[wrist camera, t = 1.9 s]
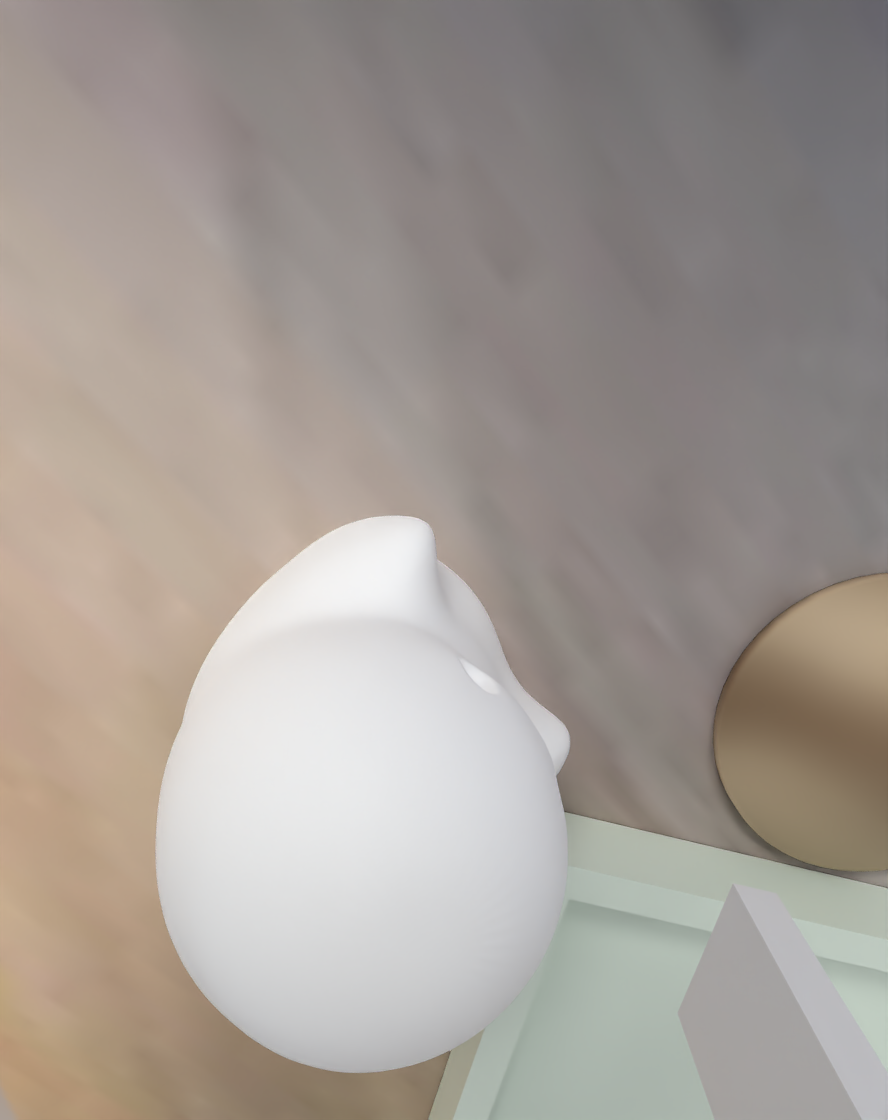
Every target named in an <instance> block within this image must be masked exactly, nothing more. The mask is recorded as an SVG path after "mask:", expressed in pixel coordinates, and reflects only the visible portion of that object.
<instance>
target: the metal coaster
mask: <svg viewBox="0 0 888 1120" xmlns="http://www.w3.org/2000/svg"><path fill="white" fill-rule="evenodd" d="M713 745H714V753H715V761H716V765H717V769H718V772H719V776H720V779H721V781H722V783H723V785H724V788H725V790H726V792H727V794H728V796H729V797H730V799H731V801H732V802H733V804H734V805H735V807H736V808H737V810H738V812H739V813H740V815H741V816H742V818H743V819H744V820H745V821H746V822H747V824H748V825H749V826H750V827H751V828H752V829H753V830H754V831H755V832H756V833H757V834H758V835H759V836H760V837H762V838H763V839H764V840H765V841H766V842H768V843H769V844H770V845H772V846H773V847H775V848H777V849H778V850H780V851H782V852H783V853H785V854H787V855H789V856H791V857H794V858H796V859H798V860H800V861H803V862H806V863H809V864H813V865H816V866H819V867H824V868H830V869H836V870H844V871H880V870H887V869H888V573H880V574H874V575H868V576H863V577H857V578H853V579H850V580H847V581H844V582H840V583H837V584H834V585H832V586H829V587H827V588H825V589H822V590H820V591H818V592H816V593H813V594H811V595H810V596H808V597H806V598H804V599H803V600H801V601H799V602H798V603H796V604H794V605H792V606H791V607H790V608H788V609H787V610H786V611H784V612H783V613H782V614H780V615H779V616H778V617H776V618H775V619H774V620H772V621H771V622H770V623H769V624H768V625H767V626H766V627H765V628H764V629H763V630H762V631H761V632H760V633H759V634H758V635H757V636H756V637H755V638H754V639H753V641H752V642H751V643H750V644H749V645H748V647H747V648H746V649H745V650H744V651H743V653H742V654H741V656H740V658H739V659H738V661H737V662H736V664H735V665H734V667H733V668H732V670H731V672H730V674H729V676H728V679H727V681H726V683H725V685H724V687H723V690H722V693H721V696H720V699H719V702H718V705H717V710H716V715H715V721H714V736H713Z"/></svg>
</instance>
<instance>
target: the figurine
mask: <svg viewBox="0 0 888 1120" xmlns="http://www.w3.org/2000/svg"><path fill="white" fill-rule="evenodd" d="M569 750H570V734H569V732H568V730H567V728H566V727H565V725H564V724H563V723H562V722H561V721H560V720H559V719H558V718H557V717H556V716H555V715H553V714H552V713H551V712H549V711H548V710H547V709H546V708H545V707H543V706H542V705H540V704H539V703H538V702H537V701H536V700H535V699H533V698H532V697H531V696H530V695H529V694H528V693H527V692H526V691H525V690H524V688H523V687H522V686H521V685H520V683H519V682H518V681H517V679H516V678H515V676H514V674H513V673H512V671H511V669H510V667H509V665H508V663H507V660H506V658H505V656H504V653H503V651H502V648H501V645H500V642H499V639H498V636H497V634H496V631H495V629H494V626H493V624H492V622H491V620H490V618H489V616H488V614H487V612H486V610H485V608H484V607H483V605H482V603H481V602H480V600H479V599H478V598H477V596H476V595H475V594H474V592H473V591H472V590H471V588H470V587H469V586H468V585H467V584H466V583H465V582H464V581H463V580H462V579H461V578H460V577H459V576H458V575H457V574H456V573H455V572H453V571H452V570H451V569H450V568H448V567H447V566H446V565H444V564H443V563H442V562H440V561H439V560H437V553H436V541H435V536H434V534H433V531H432V529H431V527H430V526H429V525H428V523H426V522H424V521H423V520H421V519H418V518H414V517H410V516H381V517H372V518H367V519H362V520H359V521H355V522H352V523H350V524H347V525H344V526H342V527H340V528H337V529H335V530H333V531H331V532H330V533H328V534H326V535H324V536H323V537H321V538H320V539H318V540H317V541H315V542H314V543H312V544H311V545H309V546H308V547H307V548H305V549H304V550H303V551H302V552H300V553H299V554H298V555H297V556H295V557H294V558H293V559H292V560H291V561H289V562H288V563H287V564H286V565H285V566H283V567H282V568H281V569H280V570H279V571H278V572H276V573H275V574H274V575H273V576H272V577H271V578H269V579H268V580H267V581H266V582H265V583H264V584H263V585H262V586H261V587H260V588H259V589H258V590H257V591H256V592H255V593H254V594H253V595H252V596H251V597H250V598H249V599H248V600H247V602H246V603H245V604H244V605H243V606H242V607H241V608H240V610H239V611H238V612H237V613H236V615H235V616H234V617H233V618H232V620H231V621H230V622H229V624H228V625H227V626H226V628H225V629H224V630H223V632H222V633H221V635H220V636H219V638H218V639H217V641H216V642H215V644H214V645H213V647H212V649H211V650H210V652H209V654H208V655H207V657H206V659H205V661H204V663H203V665H202V666H201V669H200V671H199V673H198V675H197V677H196V679H195V682H194V684H193V687H192V690H191V692H190V695H189V698H188V701H187V705H186V709H185V713H184V717H183V722H182V725H181V728H180V730H179V732H178V734H177V736H176V739H175V741H174V744H173V746H172V749H171V752H170V755H169V758H168V761H167V765H166V768H165V772H164V776H163V781H162V786H161V791H160V798H159V805H158V814H157V827H156V853H155V854H156V874H157V884H158V892H159V897H160V902H161V907H162V912H163V916H164V919H165V923H166V926H167V929H168V932H169V934H170V937H171V940H172V942H173V944H174V947H175V949H176V951H177V953H178V955H179V957H180V959H181V961H182V963H183V965H184V967H185V968H186V970H187V972H188V973H189V975H190V976H191V978H192V979H193V980H194V982H195V983H196V985H197V986H198V988H199V989H200V990H201V991H202V993H203V994H204V995H205V996H206V998H207V999H208V1000H209V1001H210V1002H211V1003H212V1004H213V1005H214V1006H215V1007H216V1008H217V1009H218V1010H219V1011H220V1012H221V1013H222V1014H223V1015H224V1016H225V1017H226V1018H227V1019H228V1020H229V1021H230V1022H232V1023H233V1024H234V1025H235V1026H236V1027H238V1028H239V1029H240V1030H241V1031H242V1032H244V1033H245V1034H246V1035H248V1036H249V1037H250V1038H252V1039H253V1040H255V1041H256V1042H258V1043H259V1044H261V1045H263V1046H264V1047H266V1048H267V1049H269V1050H271V1051H273V1052H275V1053H277V1054H279V1055H281V1056H283V1057H285V1058H287V1059H290V1060H292V1061H295V1062H298V1063H301V1064H304V1065H308V1066H311V1067H315V1068H319V1069H324V1070H329V1071H336V1072H346V1073H370V1072H381V1071H388V1070H394V1069H398V1068H403V1067H407V1066H411V1065H415V1064H418V1063H421V1062H424V1061H427V1060H430V1059H432V1058H435V1057H437V1056H439V1055H441V1054H444V1053H446V1052H448V1051H450V1050H452V1049H454V1048H455V1047H457V1046H459V1045H461V1044H462V1043H464V1042H465V1041H467V1040H469V1039H470V1038H472V1037H473V1036H475V1035H476V1034H477V1033H479V1032H480V1031H481V1030H483V1029H484V1028H485V1027H486V1026H488V1025H489V1024H490V1023H491V1022H492V1021H494V1020H495V1019H496V1018H497V1017H498V1016H499V1015H500V1014H501V1013H502V1012H503V1011H504V1010H505V1009H506V1008H507V1007H508V1006H509V1005H510V1004H511V1003H512V1002H513V1000H514V999H515V998H516V997H517V996H518V994H519V993H520V992H521V991H522V989H523V988H524V987H525V985H526V984H527V983H528V981H529V980H530V978H531V977H532V976H533V974H534V972H535V971H536V969H537V968H538V966H539V964H540V962H541V961H542V959H543V957H544V955H545V953H546V951H547V949H548V947H549V945H550V942H551V940H552V937H553V935H554V932H555V929H556V926H557V923H558V920H559V916H560V912H561V908H562V904H563V899H564V894H565V888H566V880H567V867H568V840H567V827H566V819H565V813H564V809H563V805H562V800H561V796H560V792H559V787H558V783H557V778H556V776H557V775H558V773H559V772H560V770H561V768H562V766H563V764H564V762H565V760H566V758H567V756H568V754H569Z"/></svg>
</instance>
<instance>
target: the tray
mask: <svg viewBox="0 0 888 1120" xmlns="http://www.w3.org/2000/svg"><path fill="white" fill-rule="evenodd" d="M564 813H565V819H566V827H567V840H568V867H567V880H566V888H565V894H564V899H563V904H562V908H561V912H560V916H559V920H558V923H557V926H556V929H555V932H554V935H553V937H552V940H551V942H550V945H549V947H548V949H547V951H546V953H545V955H544V957H543V959H542V961H541V962H540V964H539V966H538V968H537V969H536V971H535V972H534V974H533V976H532V977H531V978H530V980H529V981H528V983H527V984H526V985H525V987H524V988H523V989H522V991H521V992H520V993H519V994H518V996H517V997H516V998H515V999H514V1000H513V1002H512V1003H511V1004H510V1005H509V1006H508V1007H507V1008H506V1009H505V1010H504V1011H503V1012H502V1013H501V1014H500V1015H499V1016H498V1017H497V1018H496V1019H495V1020H494V1021H492V1022H491V1023H490V1024H489V1025H488V1026H486V1027H485V1028H484V1029H483V1030H481V1031H480V1032H479V1033H477V1034H476V1035H475V1036H473V1037H472V1038H470V1039H469V1040H467V1041H465V1042H464V1043H462V1044H461V1045H459V1046H457V1047H455V1048H454V1049H452V1050H451V1053H450V1056H449V1059H448V1062H447V1065H446V1068H445V1071H444V1074H443V1077H442V1080H441V1083H440V1086H439V1088H438V1091H437V1094H436V1097H435V1100H434V1103H433V1106H432V1109H431V1112H430V1115H429V1118H428V1120H714V1117H713V1114H712V1111H711V1108H710V1105H709V1102H708V1099H707V1097H706V1094H705V1091H704V1088H703V1085H702V1082H701V1079H700V1076H699V1074H698V1071H697V1068H696V1065H695V1062H694V1059H693V1056H692V1053H691V1051H690V1048H689V1045H688V1042H687V1039H686V1036H685V1033H684V1030H683V1028H682V1025H681V1022H680V1019H679V1016H678V1010H679V1008H680V1006H681V1003H682V1001H683V999H684V996H685V994H686V992H687V989H688V987H689V985H690V982H691V980H692V978H693V975H694V973H695V971H696V968H697V966H698V964H699V961H700V959H701V957H702V954H703V952H704V950H705V947H706V945H707V943H708V940H709V938H710V936H711V933H712V931H713V929H714V926H715V924H716V922H717V919H718V917H719V915H720V912H721V910H722V908H723V905H724V903H725V901H726V898H727V896H728V893H729V891H730V889H731V886H732V884H733V883H735V884H739V885H743V886H747V887H752V888H756V889H760V890H764V891H769V892H773V893H777V895H778V896H779V898H780V899H781V901H782V903H783V904H784V906H785V907H786V909H787V911H788V912H789V914H790V916H791V917H792V919H793V920H794V922H795V924H796V925H797V927H798V928H799V930H800V932H801V933H802V935H803V937H804V938H805V940H806V941H807V943H808V945H809V946H810V948H811V949H812V951H813V953H814V954H815V956H816V958H817V959H818V961H819V962H820V964H821V966H822V967H823V969H824V970H825V972H826V974H827V975H828V977H829V979H830V980H831V982H832V983H833V985H834V987H835V988H836V990H837V991H838V993H839V995H840V996H841V998H842V1000H843V1001H844V1003H845V1004H846V1006H847V1008H848V1009H849V1011H850V1012H851V1014H852V1016H853V1017H854V1019H855V1021H856V1022H857V1024H858V1025H859V1027H860V1029H861V1030H862V1032H863V1033H864V1035H865V1037H866V1038H867V1040H868V1042H869V1043H870V1045H871V1046H872V1048H873V1050H874V1051H875V1053H876V1054H877V1056H878V1058H879V1059H880V1061H881V1063H882V1064H883V1066H884V1067H885V1069H886V1071H887V1072H888V888H884V887H880V886H876V885H872V884H867V883H863V882H859V881H855V880H850V879H846V878H842V877H838V876H833V875H829V874H825V873H821V872H817V871H812V870H808V869H804V868H800V867H795V866H791V865H787V864H783V863H778V862H774V861H770V860H766V859H762V858H757V857H753V856H749V855H745V854H740V853H736V852H732V851H728V850H723V849H719V848H715V847H711V846H707V845H702V844H698V843H694V842H690V841H685V840H681V839H677V838H673V837H668V836H664V835H660V834H656V833H651V832H647V831H643V830H639V829H635V828H630V827H626V826H622V825H618V824H613V823H609V822H605V821H601V820H596V819H592V818H588V817H584V816H580V815H575V814H571V813H567V812H564Z"/></svg>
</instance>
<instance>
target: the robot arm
mask: <svg viewBox="0 0 888 1120" xmlns="http://www.w3.org/2000/svg"><path fill="white" fill-rule="evenodd" d="M678 1016H679V1019H680V1022H681V1025H682V1028H683V1030H684V1033H685V1036H686V1039H687V1042H688V1045H689V1048H690V1051H691V1053H692V1056H693V1059H694V1062H695V1065H696V1068H697V1071H698V1074H699V1076H700V1079H701V1082H702V1085H703V1088H704V1091H705V1094H706V1097H707V1099H708V1102H709V1105H710V1108H711V1111H712V1114H713V1117H714V1120H888V1072H887V1071H886V1069H885V1067H884V1066H883V1064H882V1063H881V1061H880V1059H879V1058H878V1056H877V1054H876V1053H875V1051H874V1050H873V1048H872V1046H871V1045H870V1043H869V1042H868V1040H867V1038H866V1037H865V1035H864V1033H863V1032H862V1030H861V1029H860V1027H859V1025H858V1024H857V1022H856V1021H855V1019H854V1017H853V1016H852V1014H851V1012H850V1011H849V1009H848V1008H847V1006H846V1004H845V1003H844V1001H843V1000H842V998H841V996H840V995H839V993H838V991H837V990H836V988H835V987H834V985H833V983H832V982H831V980H830V979H829V977H828V975H827V974H826V972H825V970H824V969H823V967H822V966H821V964H820V962H819V961H818V959H817V958H816V956H815V954H814V953H813V951H812V949H811V948H810V946H809V945H808V943H807V941H806V940H805V938H804V937H803V935H802V933H801V932H800V930H799V928H798V927H797V925H796V924H795V922H794V920H793V919H792V917H791V916H790V914H789V912H788V911H787V909H786V907H785V906H784V904H783V903H782V901H781V899H780V898H779V896H778V895H777V893H773V892H769V891H764V890H760V889H756V888H752V887H747V886H743V885H739V884H735V883H733V884H732V886H731V889H730V891H729V893H728V896H727V898H726V901H725V903H724V905H723V908H722V910H721V912H720V915H719V917H718V919H717V922H716V924H715V926H714V929H713V931H712V933H711V936H710V938H709V940H708V943H707V945H706V947H705V950H704V952H703V954H702V957H701V959H700V961H699V964H698V966H697V968H696V971H695V973H694V975H693V978H692V980H691V982H690V985H689V987H688V989H687V992H686V994H685V996H684V999H683V1001H682V1003H681V1006H680V1008H679V1010H678Z"/></svg>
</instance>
